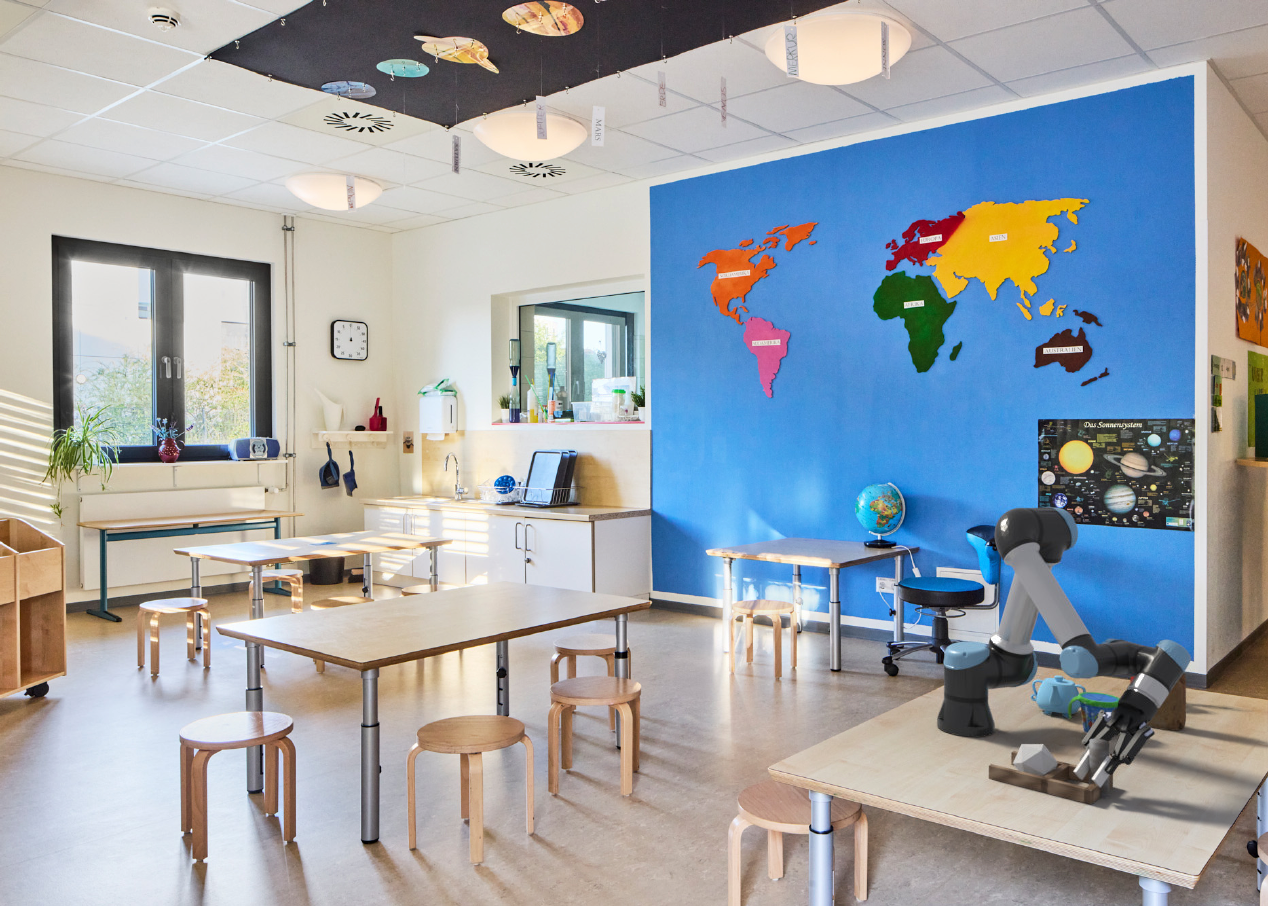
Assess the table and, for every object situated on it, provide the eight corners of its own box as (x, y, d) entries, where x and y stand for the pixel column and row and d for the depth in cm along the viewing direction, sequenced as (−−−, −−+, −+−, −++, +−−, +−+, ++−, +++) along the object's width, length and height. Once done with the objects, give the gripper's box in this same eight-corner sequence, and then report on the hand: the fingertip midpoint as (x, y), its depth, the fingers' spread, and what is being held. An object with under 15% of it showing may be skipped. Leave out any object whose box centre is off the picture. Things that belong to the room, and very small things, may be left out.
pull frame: (988, 778, 219) (989, 727, 219) (1013, 763, 230) (1014, 714, 230) (1097, 806, 203) (1097, 751, 202) (1118, 788, 213) (1119, 736, 213)
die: (1052, 793, 213) (1069, 753, 216) (1016, 771, 214) (1033, 732, 217) (1036, 793, 221) (1053, 755, 224) (1002, 772, 222) (1018, 735, 225)
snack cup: (1128, 731, 257) (1129, 695, 257) (1133, 743, 247) (1134, 704, 247) (1066, 725, 263) (1066, 689, 263) (1069, 735, 253) (1069, 698, 253)
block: (1139, 725, 263) (1139, 655, 263) (1145, 720, 268) (1146, 650, 268) (1182, 733, 256) (1183, 661, 255) (1188, 727, 261) (1189, 656, 261)
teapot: (1066, 708, 282) (1065, 671, 282) (1095, 719, 268) (1094, 680, 268) (1027, 710, 280) (1026, 672, 280) (1055, 721, 266) (1053, 682, 266)
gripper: (1184, 720, 206) (1128, 803, 201) (1119, 699, 223) (1065, 777, 217) (1167, 698, 205) (1110, 782, 199) (1102, 679, 221) (1047, 756, 215)
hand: (1086, 779), depth 208 cm, fingers closed on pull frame, 4 cm apart
